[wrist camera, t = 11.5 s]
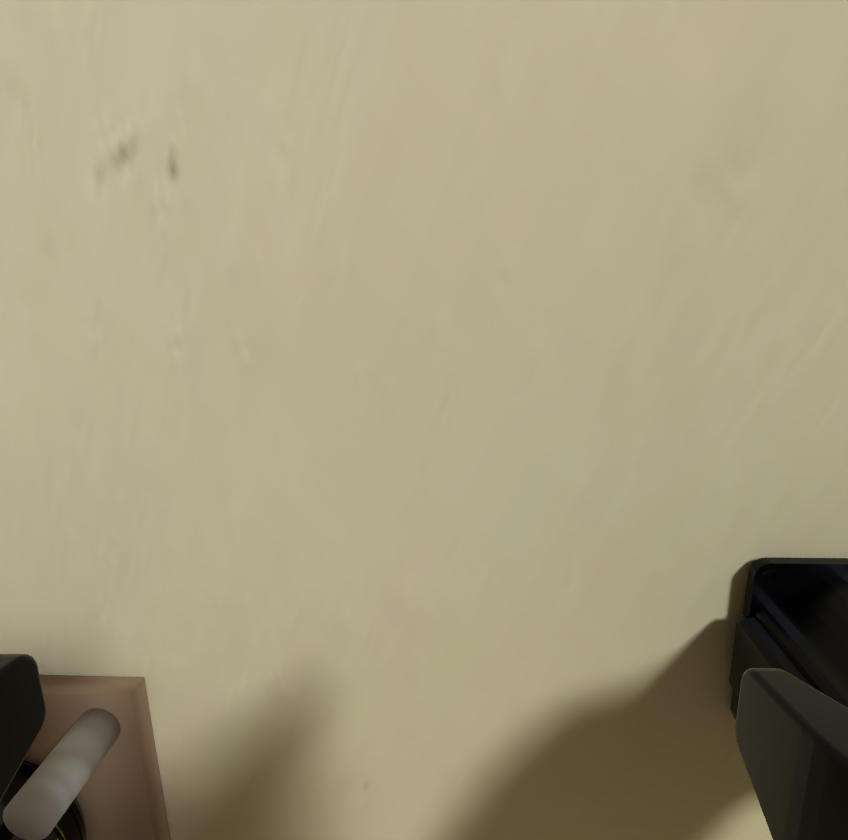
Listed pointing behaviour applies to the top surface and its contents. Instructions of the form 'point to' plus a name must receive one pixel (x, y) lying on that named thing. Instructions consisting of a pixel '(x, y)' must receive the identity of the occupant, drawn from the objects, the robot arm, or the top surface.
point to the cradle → (93, 762)
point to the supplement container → (68, 830)
